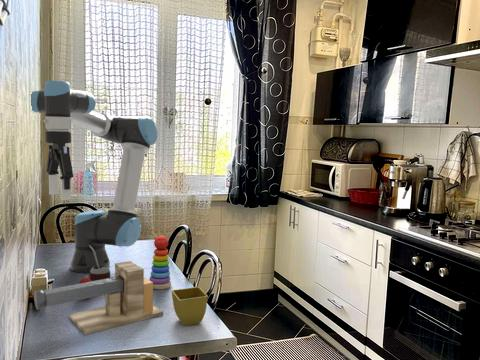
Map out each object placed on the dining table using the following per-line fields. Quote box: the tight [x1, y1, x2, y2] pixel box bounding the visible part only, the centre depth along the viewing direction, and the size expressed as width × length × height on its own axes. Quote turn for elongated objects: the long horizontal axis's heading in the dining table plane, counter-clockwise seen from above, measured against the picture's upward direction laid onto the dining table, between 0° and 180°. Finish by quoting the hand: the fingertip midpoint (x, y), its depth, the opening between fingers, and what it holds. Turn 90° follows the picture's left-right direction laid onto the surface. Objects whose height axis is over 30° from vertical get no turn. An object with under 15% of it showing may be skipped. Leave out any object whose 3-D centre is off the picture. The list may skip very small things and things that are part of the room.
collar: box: [144, 276, 154, 313], centre depth 141 cm, size 9×3×9 cm, turn 38°
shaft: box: [33, 276, 124, 311], centre depth 130 cm, size 5×28×5 cm, turn 128°
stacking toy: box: [148, 235, 172, 290], centre depth 162 cm, size 8×8×19 cm
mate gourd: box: [88, 245, 111, 281], centre depth 158 cm, size 8×8×15 cm
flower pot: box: [171, 286, 209, 327], centre depth 133 cm, size 9×9×9 cm
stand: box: [69, 260, 164, 336], centre depth 135 cm, size 14×24×15 cm, turn 128°
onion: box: [77, 275, 92, 300], centre depth 149 cm, size 6×6×8 cm
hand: (59, 197), depth 144 cm, fingers open, 13 cm apart
